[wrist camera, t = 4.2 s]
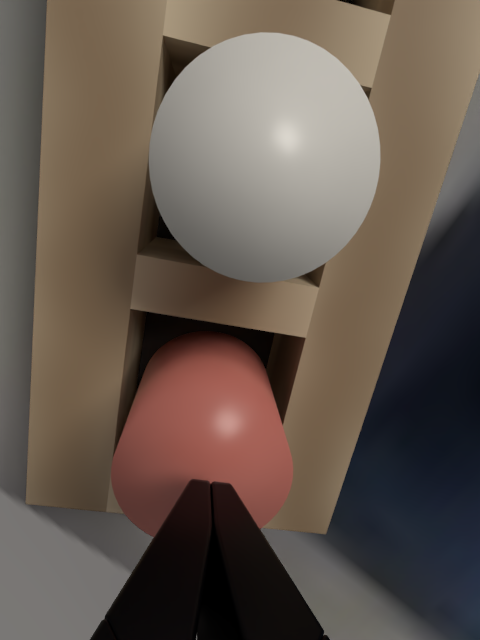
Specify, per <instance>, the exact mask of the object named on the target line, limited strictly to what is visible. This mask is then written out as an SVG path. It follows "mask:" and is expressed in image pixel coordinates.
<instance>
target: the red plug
mask: <svg viewBox="0 0 480 640" xmlns="http://www.w3.org/2000/svg"><path fill="white" fill-rule="evenodd" d="M191 479H200V480H208V481H209V482H210V484H211V483H212V482H213V481H217V482H226V483H230V484H231V485H232V486H233V487H234V489H235V490H236V492H237V494H238V495H239V497H240V498H241V500H242V502H243V503H244V505H245V506H246V508H247V510H248V511H249V513H250V514H251V516H252V517H253V519H254V521H255V522H256V524H257V525H258V527H259V529H261V528H262V527H263V526H265V525H266V524H267V523H268V522H269V521H271V519H272V518H273V517H274V516H275V515H276V514H277V513H278V512H279V510H280V509H281V507H282V506H283V504H284V502H285V501H286V499H287V497H288V494H289V492H290V489H291V485H292V480H293V461H292V456H291V452H290V449H289V445H288V442H287V439H286V435H285V432H284V429H283V425H282V422H281V419H280V415H279V412H278V409H277V405H276V402H275V399H274V395H273V392H272V389H271V385H270V382H269V379H268V375H267V372H266V369H265V367H264V365H263V362H262V361H261V359H260V358H259V356H258V355H257V354H256V353H255V351H254V350H253V349H252V348H251V347H249V346H248V345H247V344H246V343H244V342H243V341H241V340H239V339H238V338H236V337H234V336H231V335H228V334H225V333H221V332H216V331H196V332H190V333H187V334H183V335H181V336H178V337H176V338H174V339H172V340H170V341H169V342H167V343H166V344H164V345H163V346H162V347H160V348H159V349H158V350H157V351H156V353H155V354H154V355H153V356H152V358H151V359H150V361H149V362H148V364H147V366H146V369H145V371H144V374H143V377H142V379H141V382H140V385H139V388H138V390H137V393H136V396H135V399H134V401H133V404H132V407H131V410H130V412H129V415H128V418H127V421H126V423H125V426H124V429H123V432H122V434H121V437H120V440H119V443H118V445H117V448H116V451H115V454H114V456H113V461H112V466H111V482H112V488H113V492H114V495H115V498H116V500H117V502H118V504H119V506H120V508H121V509H122V511H123V512H124V514H125V515H126V516H127V517H128V518H129V519H130V521H131V522H133V523H134V524H135V525H136V526H137V527H138V528H140V529H141V530H143V531H144V532H146V533H147V534H149V535H151V536H153V537H155V535H156V533H157V532H158V530H159V529H160V527H161V525H162V524H163V522H164V521H165V519H166V517H167V516H168V514H169V513H170V511H171V509H172V508H173V506H174V505H175V503H176V501H177V500H178V498H179V497H180V495H181V493H182V492H183V490H184V489H185V487H186V485H187V484H188V482H189V481H190V480H191Z"/></svg>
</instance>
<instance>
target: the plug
mask: <svg viewBox="0 0 480 640" xmlns="http://www.w3.org/2000/svg"><path fill="white" fill-rule="evenodd" d="M379 170H380V140H379V133H378V127H377V124H376V120H375V116H374V113H373V110H372V108H371V105H370V103H369V100H368V98H367V96H366V94H365V93H364V91H363V89H362V87H361V86H360V84H359V82H358V81H357V80H356V78H355V77H354V76H353V75H352V73H351V72H350V71H349V70H348V69H347V68H346V67H345V66H344V65H343V64H342V63H341V62H340V61H339V60H338V59H337V58H336V57H334V56H333V55H332V54H330V53H329V52H328V51H326V50H325V49H323V48H321V47H320V46H318V45H316V44H314V43H312V42H310V41H308V40H305V39H302V38H299V37H296V36H293V35H287V34H282V33H267V32H260V33H252V34H244V35H241V36H237V37H234V38H231V39H228V40H225V41H223V42H221V43H219V44H217V45H215V46H213V47H211V48H210V49H208V50H206V51H205V52H203V53H202V54H200V55H199V56H198V57H197V58H195V59H194V60H193V61H192V62H191V63H190V64H189V65H188V66H186V67H185V68H184V70H183V71H182V72H181V73H180V74H179V76H178V77H177V78H176V79H175V80H174V82H173V83H172V85H171V86H170V88H169V90H168V91H167V93H166V94H165V96H164V98H163V101H162V103H161V105H160V107H159V109H158V112H157V115H156V118H155V121H154V124H153V128H152V133H151V139H150V145H149V173H150V181H151V186H152V191H153V195H154V198H155V201H156V204H157V207H158V210H159V212H160V214H161V216H162V218H163V220H164V222H165V224H166V226H167V227H168V229H169V230H170V232H171V234H172V235H173V236H174V238H175V239H176V240H177V241H178V243H179V244H180V245H181V246H182V247H183V248H184V249H185V250H186V251H187V252H188V253H189V254H190V255H191V256H192V257H193V258H195V259H196V260H197V261H199V262H200V263H202V264H203V265H204V266H206V267H208V268H210V269H212V270H213V271H215V272H217V273H220V274H222V275H225V276H227V277H230V278H234V279H238V280H242V281H248V282H257V283H263V282H277V281H284V280H288V279H292V278H295V277H299V276H301V275H304V274H306V273H308V272H311V271H313V270H314V269H316V268H318V267H320V266H321V265H323V264H325V263H326V262H327V261H329V260H330V259H331V258H333V257H334V256H335V255H336V254H337V253H338V252H339V251H340V250H342V249H343V248H344V247H345V246H346V245H347V243H348V242H349V241H350V240H351V238H352V237H353V236H354V235H355V234H356V232H357V230H358V229H359V227H360V226H361V224H362V223H363V221H364V219H365V217H366V215H367V213H368V211H369V209H370V206H371V204H372V201H373V198H374V195H375V192H376V187H377V183H378V179H379Z"/></svg>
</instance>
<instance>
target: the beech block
mask: <svg viewBox="0 0 480 640" xmlns="http://www.w3.org/2000/svg"><path fill="white" fill-rule="evenodd" d="M260 32H267V33H282V34H287V35H293V36H296V37H299V38H302V39H305V40H308V41H310V42H312V43H314V44H316V45H318V46H320V47H321V48H323V49H325V50H326V51H328V52H329V53H330V54H332V55H333V56H334V57H336V58H337V59H338V60H339V61H340V62H341V63H342V64H343V65H344V66H345V67H346V68H347V69H348V70H349V71H350V72H351V73H352V75H353V76H354V77H355V78H356V80H357V81H358V82H359V84H360V86H361V87H362V89H363V91H364V93H365V94H366V96H367V98H368V100H369V103H370V105H371V108H372V110H373V113H374V116H375V120H376V124H377V127H378V133H379V140H380V170H379V179H378V183H377V187H376V192H375V195H374V198H373V201H372V204H371V206H370V209H369V211H368V213H367V215H366V217H365V219H364V221H363V223H362V224H361V226H360V227H359V229H358V230H357V232H356V234H355V235H354V236H353V237H352V238H351V240H350V241H349V242H348V243H347V245H346V246H345V247H344V248H343V249H342V250H340V251H339V252H338V253H337V254H336V255H335V256H334V257H333V258H331V259H330V260H329V261H327V262H326V263H325V264H323V265H321V266H320V267H318V268H316V269H314V270H313V271H311V272H308V273H306V274H304V275H301V276H299V277H295V278H292V279H288V280H284V281H277V282H263V283H257V282H248V281H242V280H238V279H234V278H230V277H227V276H225V275H222V274H220V273H217V272H215V271H213V270H212V269H210V268H208V267H206V266H204V265H203V264H202V263H200V262H199V261H197V260H196V259H195V258H193V257H192V256H191V255H190V254H189V253H188V252H187V251H186V250H185V249H184V248H183V247H182V246H181V245H180V244H179V243H178V241H176V240H171V239H165V238H160V237H157V230H158V223H159V215H160V212H159V210H158V207H157V204H156V201H155V198H154V195H153V191H152V186H151V181H150V173H149V145H150V139H151V133H152V128H153V124H154V121H155V118H156V115H157V112H158V109H159V107H160V105H161V103H162V101H163V98H164V96H165V94H166V93H167V91H168V90H169V88H170V86H171V85H172V83H173V82H174V80H175V79H176V78H177V77H178V76H179V74H180V73H181V72H182V71H183V70H184V68H185V67H186V66H188V65H189V64H190V63H191V62H192V61H193V60H194V59H195V58H197V57H198V56H199V55H200V54H202V53H203V52H205V51H206V50H208V49H210V48H211V47H213V46H215V45H217V44H219V43H221V42H223V41H225V40H228V39H231V38H234V37H237V36H241V35H244V34H252V33H260ZM479 72H480V0H354V1H353V5H352V4H349V3H345V2H342V1H338V0H47V15H46V39H45V62H44V86H43V109H42V133H41V156H40V180H39V203H38V227H37V250H36V273H35V297H34V320H33V344H32V367H31V391H30V414H29V438H28V461H27V485H26V504H31V505H41V506H50V507H60V508H70V509H80V510H90V511H100V512H110V513H120V514H124V512H123V511H122V509H121V508H120V506H119V504H118V502H117V500H116V498H115V495H114V492H113V488H112V482H111V466H112V461H113V456H114V454H115V451H116V448H117V445H118V443H119V440H120V437H121V434H122V432H123V429H124V426H125V423H126V421H127V418H128V415H129V412H130V410H131V407H132V404H133V401H134V399H135V396H136V389H137V382H138V374H139V366H140V359H141V351H142V344H143V336H144V329H145V321H146V313H147V312H153V313H159V314H165V315H171V316H177V317H183V318H189V319H195V320H201V321H207V322H213V323H220V324H226V325H232V326H238V327H244V328H250V329H256V330H262V331H268V332H274V333H275V334H274V338H273V342H272V347H271V351H270V355H269V359H268V363H267V368H266V372H267V375H268V379H269V382H270V385H271V389H272V392H273V395H274V399H275V402H276V405H277V409H278V412H279V415H280V419H281V422H282V425H283V429H284V432H285V435H286V439H287V442H288V445H289V449H290V452H291V456H292V461H293V480H292V485H291V489H290V492H289V494H288V497H287V499H286V501H285V502H284V504H283V506H282V507H281V509H280V510H279V512H278V513H277V514H276V515H275V516H274V517H273V518H272V519H271V521H269V522H268V523H267V524H266V525H265V526H263V527H262V528H269V529H279V530H289V531H299V532H309V533H319V534H326V532H327V529H328V526H329V523H330V520H331V517H332V514H333V511H334V508H335V505H336V502H337V499H338V496H339V493H340V490H341V487H342V484H343V481H344V478H345V475H346V472H347V469H348V466H349V463H350V460H351V457H352V454H353V451H354V448H355V445H356V442H357V439H358V436H359V433H360V430H361V427H362V424H363V421H364V418H365V415H366V412H367V409H368V406H369V403H370V400H371V397H372V394H373V391H374V388H375V385H376V382H377V379H378V376H379V373H380V370H381V367H382V364H383V361H384V358H385V355H386V352H387V349H388V346H389V343H390V340H391V337H392V334H393V331H394V328H395V325H396V322H397V319H398V316H399V313H400V310H401V307H402V304H403V301H404V298H405V295H406V292H407V289H408V286H409V283H410V280H411V277H412V274H413V271H414V268H415V265H416V262H417V259H418V256H419V253H420V250H421V247H422V244H423V241H424V238H425V235H426V232H427V229H428V226H429V223H430V220H431V217H432V214H433V211H434V208H435V205H436V202H437V199H438V196H439V193H440V190H441V187H442V184H443V181H444V178H445V175H446V172H447V169H448V166H449V163H450V160H451V157H452V154H453V151H454V148H455V145H456V142H457V139H458V136H459V133H460V130H461V127H462V124H463V121H464V118H465V114H466V111H467V108H468V105H469V102H470V99H471V96H472V93H473V90H474V87H475V84H476V81H477V78H478V75H479Z"/></svg>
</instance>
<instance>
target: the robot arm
mask: <svg viewBox="0 0 480 640" xmlns="http://www.w3.org/2000/svg"><path fill="white" fill-rule="evenodd" d="M323 634H324V630H323V628H322V627H321V625H320V624H319V622H318V620H317V619H316V617H315V616H314V614H313V613H312V611H311V609H310V608H309V606H308V605H307V603H306V601H305V600H304V598H303V597H302V595H301V594H300V592H299V590H298V589H297V587H296V586H295V584H294V582H293V581H292V579H291V578H290V576H289V574H288V573H287V571H286V570H285V568H284V567H283V565H282V563H281V562H280V560H279V559H278V557H277V555H276V554H275V552H274V551H273V549H272V548H271V546H270V544H269V543H268V541H267V540H266V538H265V536H264V535H263V533H262V532H261V530H260V529H259V527H258V525H257V524H256V522H255V521H254V519H253V517H252V516H251V514H250V513H249V511H248V510H247V508H246V506H245V505H244V503H243V502H242V500H241V498H240V497H239V495H238V494H237V492H236V490H235V489H234V487H233V486H232V485H231V484H230V483H226V482H217V481H213V482H212V483H211V484H210V482H209V481H208V480H200V479H191V480H190V481H189V482H188V484H187V485H186V487H185V489H184V490H183V492H182V493H181V495H180V497H179V498H178V500H177V501H176V503H175V505H174V506H173V508H172V509H171V511H170V513H169V514H168V516H167V517H166V519H165V521H164V522H163V524H162V525H161V527H160V529H159V530H158V532H157V533H156V535H155V537H154V538H153V540H152V541H151V543H150V545H149V546H148V548H147V550H146V551H145V553H144V554H143V556H142V558H141V559H140V561H139V562H138V564H137V566H136V567H135V569H134V570H133V572H132V574H131V575H130V577H129V579H128V580H127V582H126V583H125V585H124V586H123V588H122V590H121V591H120V593H119V594H118V596H117V598H116V599H115V601H114V602H113V604H112V606H111V608H110V609H109V611H108V612H107V614H106V615H105V620H102V621H101V623H100V624H99V626H98V628H97V629H96V631H95V632H94V634H93V636H92V637H91V639H90V640H196V635H197V640H330V639H329V638H328V636H327V635H324V636H323Z"/></svg>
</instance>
